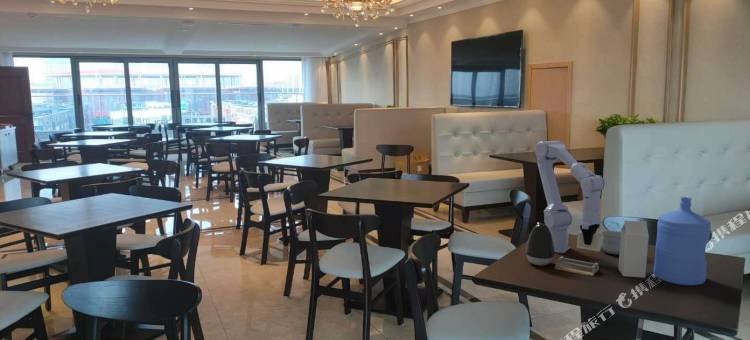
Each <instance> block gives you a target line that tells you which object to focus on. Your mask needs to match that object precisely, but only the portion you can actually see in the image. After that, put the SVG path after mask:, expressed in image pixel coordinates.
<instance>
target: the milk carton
mask: <svg viewBox="0 0 750 340" xmlns="http://www.w3.org/2000/svg"><path fill="white" fill-rule="evenodd" d="M647 224H648V222H647V221H641V220H640V221H636V220H624V224H623V225H622V227H621V230H620V232H621V240H620V254H619V255H618V266H617V268H618V271H619V272H620V274H621V275H622V276H623V277H629V278H631V277H632V278H645V279H646V274H647V273H646V271H647V262H648V261H647V260H648V248H649V238H650V237H649V231H648V227H647V226H648V225H647Z"/></svg>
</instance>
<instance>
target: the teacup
mask: <svg viewBox="0 0 750 340" xmlns="http://www.w3.org/2000/svg"><path fill="white" fill-rule="evenodd" d="M600 234H601V235H602V237H601V250H603V251H604V252H605V253H607V254H610V255H618V256H619V254H620V240H621V231H616V230H602V231H600Z"/></svg>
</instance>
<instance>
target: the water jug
mask: <svg viewBox="0 0 750 340" xmlns="http://www.w3.org/2000/svg"><path fill="white" fill-rule="evenodd" d="M692 200H693V199H692V198H691V197H686V196H683V197H682V196H681V197H680V203H679V209H676V210H673V211H669V212H666V213H663V214H660V215H659V216H658V219H657V220H658V221H657V225H656V228H657V232H656V242H655V246H654V248H655V250H654V251H655V253H654V254H655V256H654V266H653V272H652V273H653V275H654V276H655V277H656V278H658V279H659V280H661V281H663V282H666V283H670V284H675V285H678V286H679V285H680V286H700V285H703V284H704V283H705V282H706V277H707V274H706V273H707V264H708V262H707V260H706V259H705V257H706V248H707V244H708V243H709V242H710V235H711V230H712V228H711V224H712V223H711V221H710V220H709V219H707V218H706V217H703V216H702V215H700V214H698V213H696V212H694V211H692V209H691V207H692V206H691V205H692Z"/></svg>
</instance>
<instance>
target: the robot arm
mask: <svg viewBox="0 0 750 340" xmlns="http://www.w3.org/2000/svg"><path fill="white" fill-rule="evenodd" d="M534 148H535V149H534V152H535V156H536V160H537V167H538V168H537V169H538V171H539V176H540V179H541V183H542V188H543V192H544V196H545V199H546V203H547V206H546V208H545V209H544V210H543V214H544V219H543V221H544V224H545V225H546V226H548V228H549V230H550V232H551V235H552V238H553V243H554V250H555V253H559V254H565V253H566V252H568V250H569V249H571V246H569V235H570V234H569V227H570V226H571V225H572V223H573V215H572V214H571V212H570V210H569V207H568V206H567V205H565V204H564V203H563V202H562V199H561V198H562V197H561V194H560V190H559V187H558V183H557V179H556V175H555V172H554V170H555V169H554V168H553V167H554V166H553V165H554V164H555V162H556V161H558V159H559V160H560V161H561V162H562V163H563V164H565V166H567V167H568V169H570V171H569V172H570V174H571V175H572V176H573V178H575V179H576V180H577V182H579V184H580V187H581V190H582V197H583V201H582V214H581V215H582V216H581V220H580V221H581V225H579V228H580V231H582V234H583V239H584V244H585V245H591V243H592V238H593V235H594V233H595V234H597V231H598V230H599V228H600V225H601V224H602V223H603V220H599V219H600V217H599V216H600V208H601V207H600V206H601V194H602V191H603V190H604V189H605V188H606V187H605V186H606V183H605V179H604V178H603V177H602V175H599V174H598V175H597V174H595V173H594V172H593V171H591V169H589V168H588V167H587V164H586V163H584V162H578V161H577V160H576V159H575V158H574V157H573V155H572V154H571V153H570V152H569V151H568V150H567V149H566V144H564V143H563V141H562V140H558V139H557V140H549V141H546V140H545V141H544V140H543V141H542V140H540V141H539V142H538V143H537V144H536V146H535V147H534Z"/></svg>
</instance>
